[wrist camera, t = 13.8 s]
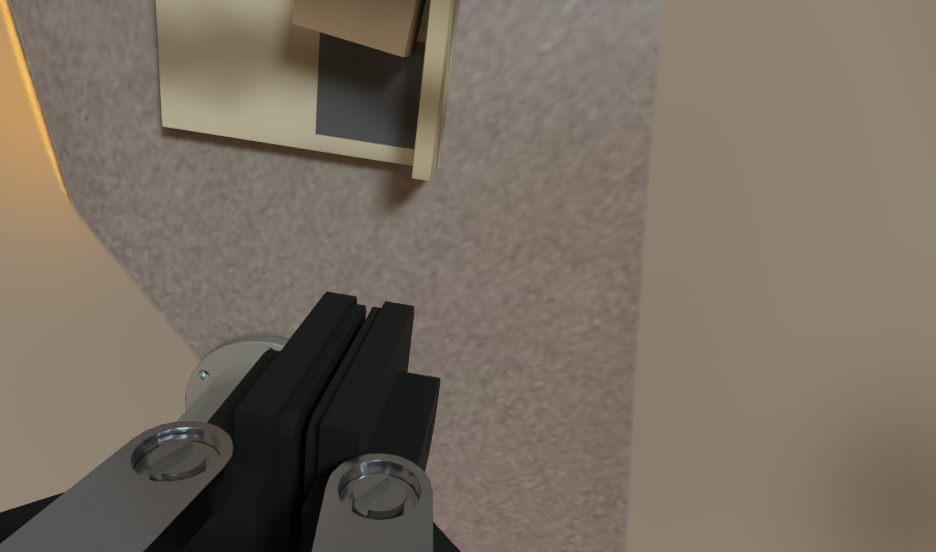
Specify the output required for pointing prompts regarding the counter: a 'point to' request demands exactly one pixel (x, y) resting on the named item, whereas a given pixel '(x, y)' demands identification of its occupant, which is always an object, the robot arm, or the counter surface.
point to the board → (304, 81)
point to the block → (365, 21)
